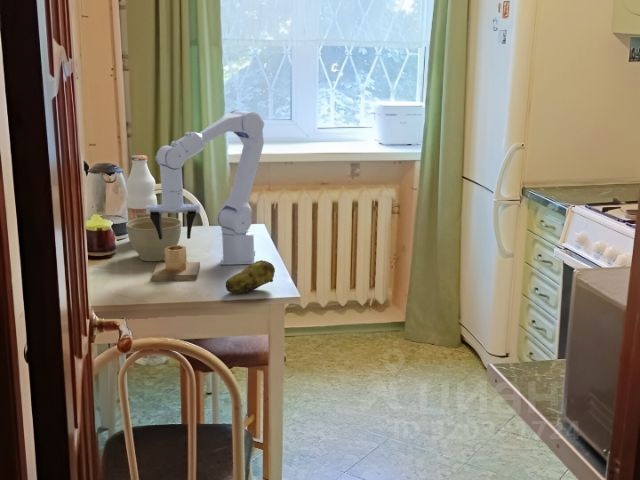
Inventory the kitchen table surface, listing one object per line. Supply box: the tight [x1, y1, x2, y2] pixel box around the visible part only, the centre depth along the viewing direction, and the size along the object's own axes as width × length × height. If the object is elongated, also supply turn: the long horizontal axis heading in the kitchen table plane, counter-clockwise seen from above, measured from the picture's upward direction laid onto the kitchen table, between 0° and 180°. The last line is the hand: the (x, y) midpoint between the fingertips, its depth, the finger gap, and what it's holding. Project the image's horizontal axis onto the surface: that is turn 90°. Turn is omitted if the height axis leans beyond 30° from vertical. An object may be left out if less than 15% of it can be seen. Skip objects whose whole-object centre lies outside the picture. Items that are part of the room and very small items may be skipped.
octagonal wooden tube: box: [164, 244, 188, 272], centre depth 220 cm, size 6×6×6 cm
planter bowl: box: [125, 216, 182, 262], centre depth 235 cm, size 16×16×11 cm
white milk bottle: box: [125, 154, 158, 244], centre depth 250 cm, size 9×9×28 cm
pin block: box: [151, 261, 201, 282], centre depth 220 cm, size 12×12×6 cm
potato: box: [225, 259, 276, 295], centre depth 205 cm, size 8×13×8 cm, turn 95°
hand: (174, 238), depth 218 cm, fingers open, 7 cm apart
